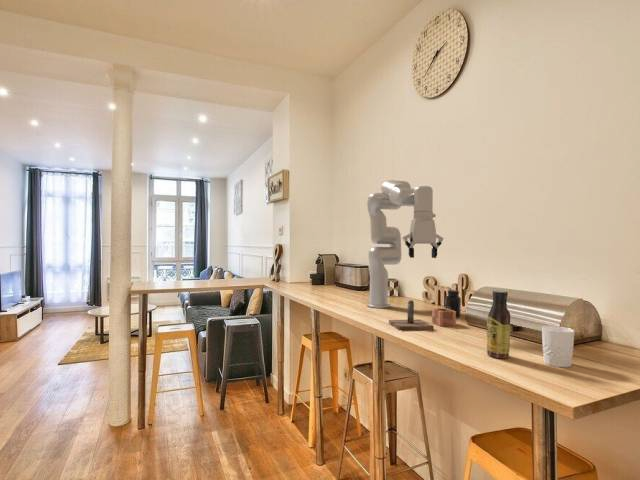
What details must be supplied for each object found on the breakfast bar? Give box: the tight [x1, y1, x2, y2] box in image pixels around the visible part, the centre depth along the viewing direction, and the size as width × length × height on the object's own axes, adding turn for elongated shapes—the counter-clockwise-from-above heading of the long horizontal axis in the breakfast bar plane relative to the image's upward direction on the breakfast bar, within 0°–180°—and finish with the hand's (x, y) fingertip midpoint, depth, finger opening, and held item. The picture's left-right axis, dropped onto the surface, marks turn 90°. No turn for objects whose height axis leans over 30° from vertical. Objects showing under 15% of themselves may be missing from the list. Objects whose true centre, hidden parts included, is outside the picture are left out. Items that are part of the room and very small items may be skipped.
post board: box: [388, 299, 434, 332], centre depth 149 cm, size 12×14×11 cm
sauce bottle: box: [486, 289, 511, 359], centre depth 111 cm, size 7×6×20 cm
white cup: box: [541, 325, 575, 368], centre depth 105 cm, size 8×8×10 cm
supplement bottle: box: [444, 289, 462, 318], centre depth 172 cm, size 7×7×12 cm
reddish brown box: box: [431, 307, 457, 327], centre depth 154 cm, size 7×7×6 cm
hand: (422, 257), depth 151 cm, fingers open, 9 cm apart
